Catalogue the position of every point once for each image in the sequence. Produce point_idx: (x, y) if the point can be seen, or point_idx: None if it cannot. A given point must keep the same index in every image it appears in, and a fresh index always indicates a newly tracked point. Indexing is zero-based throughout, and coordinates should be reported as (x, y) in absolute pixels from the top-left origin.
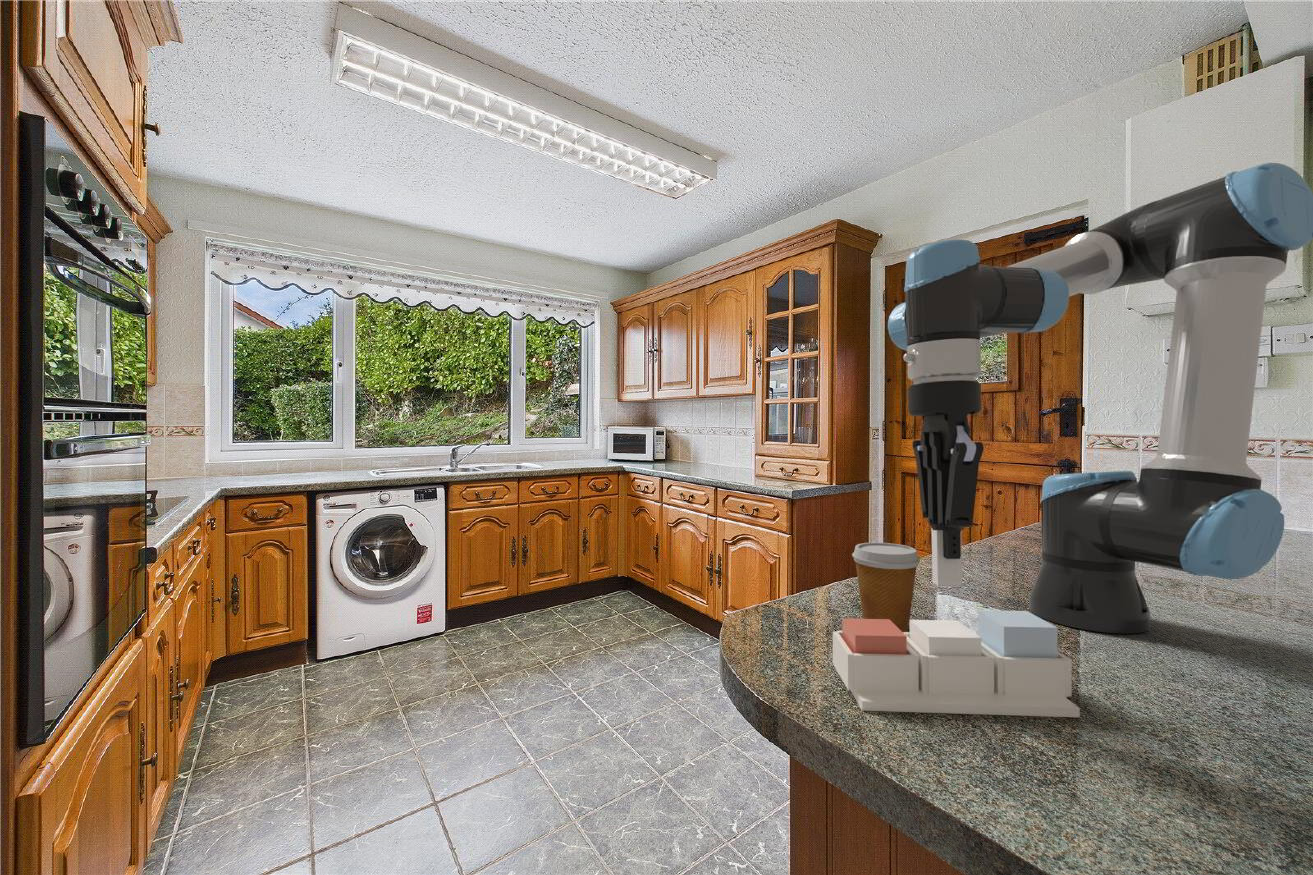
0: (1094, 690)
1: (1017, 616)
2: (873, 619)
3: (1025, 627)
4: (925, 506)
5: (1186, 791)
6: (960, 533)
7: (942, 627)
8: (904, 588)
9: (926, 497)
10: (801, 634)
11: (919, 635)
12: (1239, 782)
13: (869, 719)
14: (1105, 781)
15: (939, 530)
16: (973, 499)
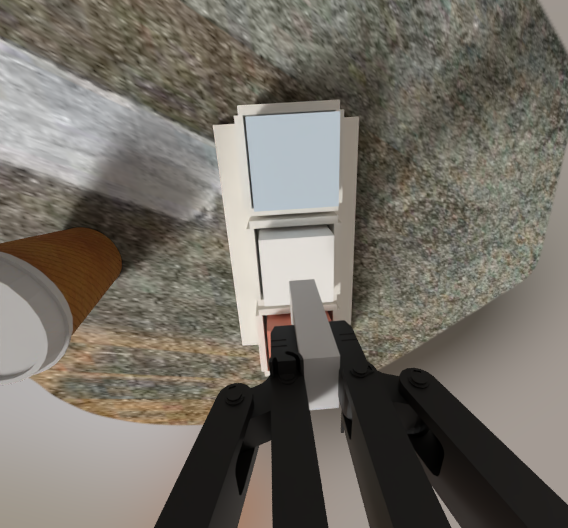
0: (276, 38)
1: (282, 155)
2: (270, 349)
3: (338, 170)
4: (251, 469)
5: (490, 100)
6: (337, 350)
7: (294, 273)
8: (77, 269)
9: (240, 502)
10: (159, 362)
11: None
12: (486, 21)
13: (362, 328)
14: (467, 170)
15: (337, 400)
16: (513, 460)
